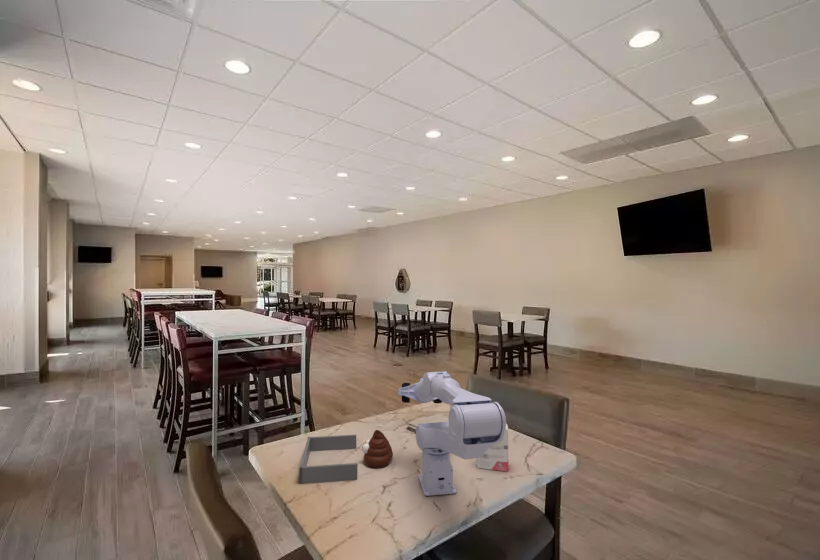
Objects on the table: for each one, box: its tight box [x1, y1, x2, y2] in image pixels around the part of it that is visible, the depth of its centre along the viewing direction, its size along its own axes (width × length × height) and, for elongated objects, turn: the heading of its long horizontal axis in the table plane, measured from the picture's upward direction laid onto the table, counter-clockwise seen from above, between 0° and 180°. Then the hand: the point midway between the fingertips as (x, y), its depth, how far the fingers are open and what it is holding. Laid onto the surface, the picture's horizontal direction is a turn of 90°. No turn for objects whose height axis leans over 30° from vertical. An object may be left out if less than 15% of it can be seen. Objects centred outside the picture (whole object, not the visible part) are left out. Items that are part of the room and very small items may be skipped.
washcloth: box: [406, 413, 449, 434], centre depth 136 cm, size 12×18×3 cm, turn 131°
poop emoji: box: [361, 429, 394, 469], centre depth 110 cm, size 10×8×9 cm
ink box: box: [476, 423, 509, 472], centre depth 107 cm, size 9×5×12 cm, turn 74°
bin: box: [298, 434, 359, 485], centre depth 108 cm, size 20×15×4 cm
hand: (416, 396), depth 117 cm, fingers open, 7 cm apart
